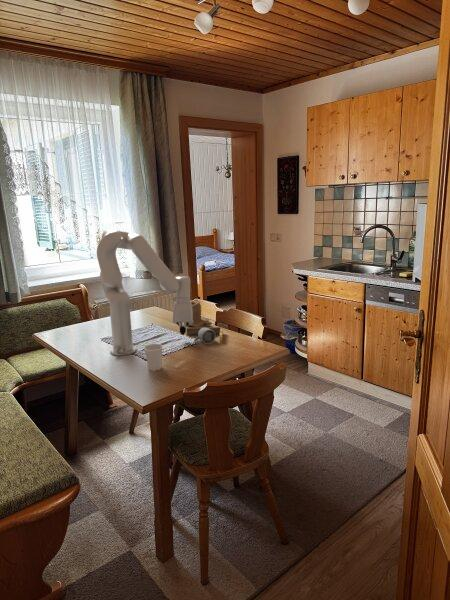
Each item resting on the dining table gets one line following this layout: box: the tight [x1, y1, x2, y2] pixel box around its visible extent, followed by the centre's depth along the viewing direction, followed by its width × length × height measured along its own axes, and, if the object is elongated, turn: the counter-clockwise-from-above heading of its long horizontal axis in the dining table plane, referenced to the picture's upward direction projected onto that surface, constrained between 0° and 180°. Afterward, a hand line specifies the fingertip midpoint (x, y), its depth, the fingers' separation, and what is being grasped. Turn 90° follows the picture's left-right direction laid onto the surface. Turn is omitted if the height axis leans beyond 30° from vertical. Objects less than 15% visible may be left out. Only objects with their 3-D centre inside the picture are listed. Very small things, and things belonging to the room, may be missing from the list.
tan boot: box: [187, 300, 213, 328], centre depth 243 cm, size 15×12×15 cm
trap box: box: [186, 326, 224, 345], centre depth 220 cm, size 17×20×4 cm
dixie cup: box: [143, 343, 164, 372], centre depth 182 cm, size 8×8×10 cm
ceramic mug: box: [193, 328, 217, 345], centre depth 215 cm, size 11×8×8 cm
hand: (182, 334), depth 216 cm, fingers closed
